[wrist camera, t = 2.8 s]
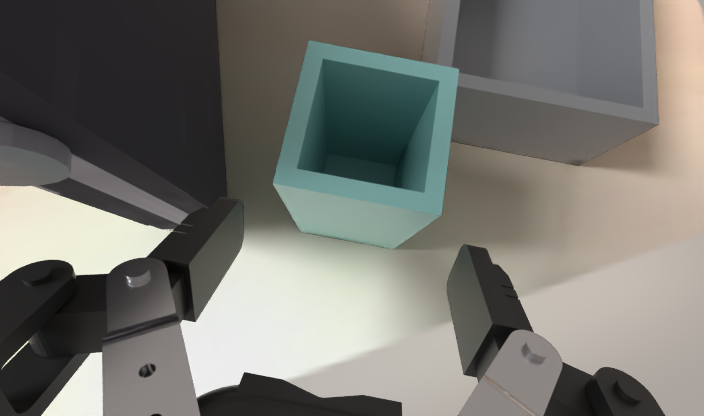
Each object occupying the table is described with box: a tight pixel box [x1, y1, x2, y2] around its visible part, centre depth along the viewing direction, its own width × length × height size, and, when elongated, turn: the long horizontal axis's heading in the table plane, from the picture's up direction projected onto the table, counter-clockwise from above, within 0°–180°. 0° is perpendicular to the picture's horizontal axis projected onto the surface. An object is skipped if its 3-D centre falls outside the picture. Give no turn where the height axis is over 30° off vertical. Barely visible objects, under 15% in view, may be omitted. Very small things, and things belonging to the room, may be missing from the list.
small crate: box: [273, 40, 459, 249], centre depth 17 cm, size 6×6×10 cm
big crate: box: [421, 0, 659, 166], centre depth 22 cm, size 15×12×6 cm
